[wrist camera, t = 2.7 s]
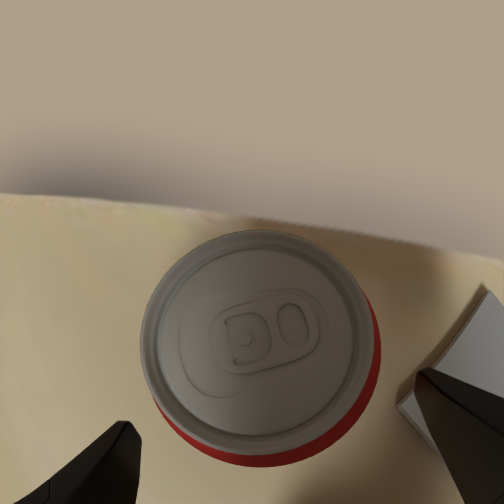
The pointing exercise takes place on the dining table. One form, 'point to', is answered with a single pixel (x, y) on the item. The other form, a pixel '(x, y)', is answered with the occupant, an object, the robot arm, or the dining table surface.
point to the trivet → (468, 360)
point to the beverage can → (260, 348)
